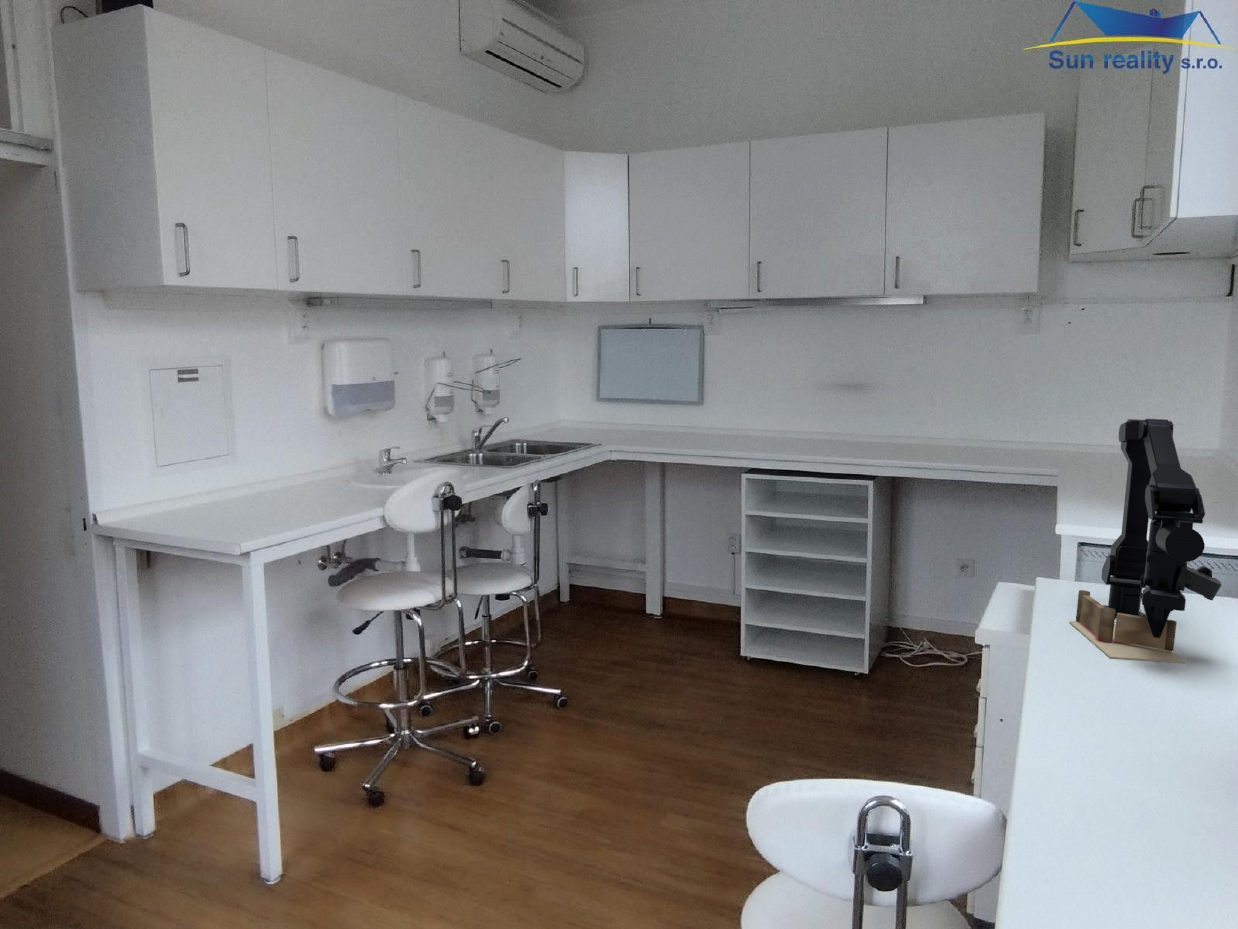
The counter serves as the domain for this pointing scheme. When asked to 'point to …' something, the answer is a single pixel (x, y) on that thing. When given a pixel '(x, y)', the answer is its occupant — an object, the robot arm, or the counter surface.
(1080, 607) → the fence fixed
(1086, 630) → the card
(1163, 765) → the counter surface
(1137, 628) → the fence gate
